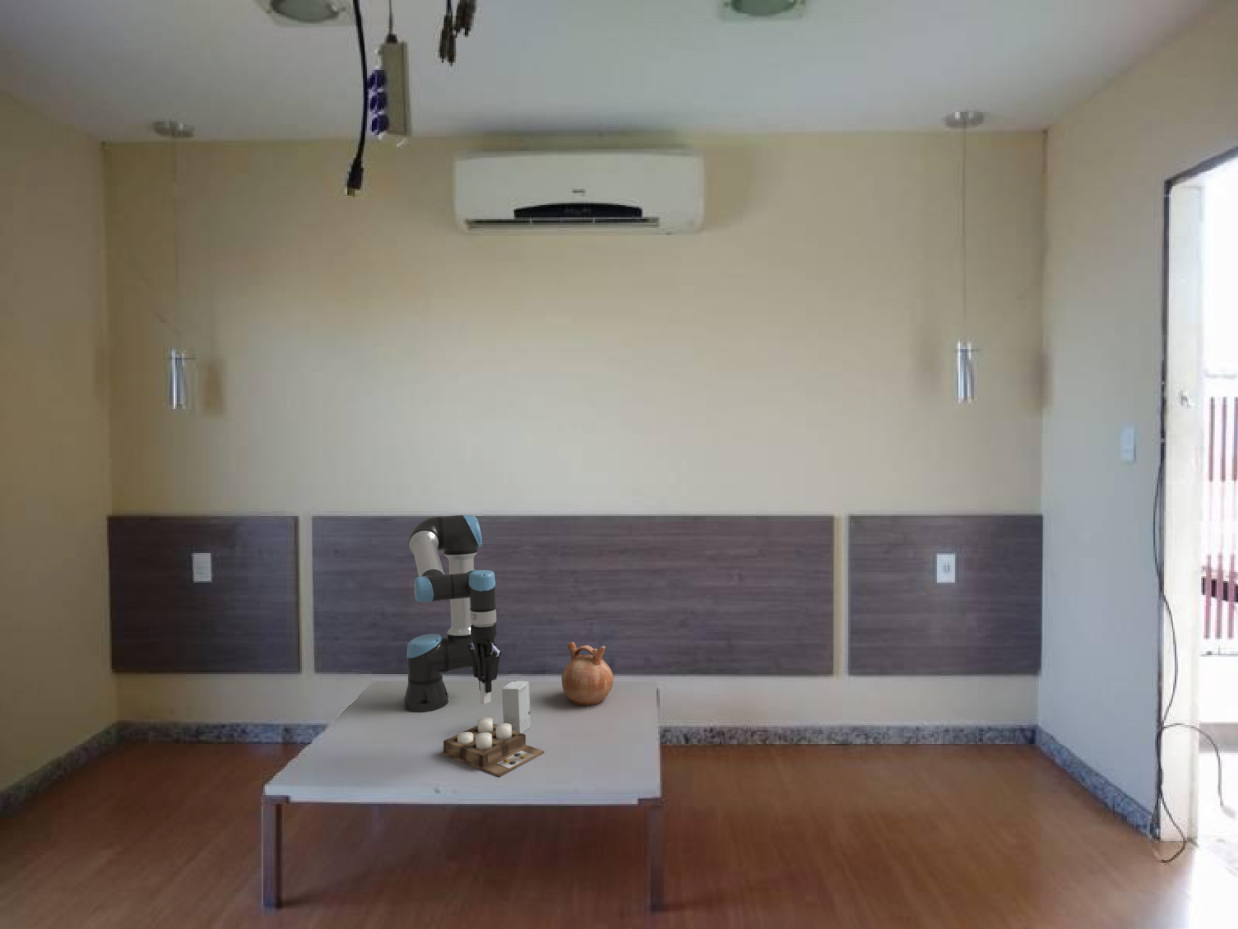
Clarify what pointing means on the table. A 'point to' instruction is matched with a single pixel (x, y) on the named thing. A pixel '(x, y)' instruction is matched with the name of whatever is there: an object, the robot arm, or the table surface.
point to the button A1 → (465, 737)
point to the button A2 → (485, 725)
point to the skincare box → (516, 705)
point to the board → (492, 752)
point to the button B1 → (483, 741)
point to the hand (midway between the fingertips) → (485, 702)
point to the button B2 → (503, 731)
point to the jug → (586, 676)
